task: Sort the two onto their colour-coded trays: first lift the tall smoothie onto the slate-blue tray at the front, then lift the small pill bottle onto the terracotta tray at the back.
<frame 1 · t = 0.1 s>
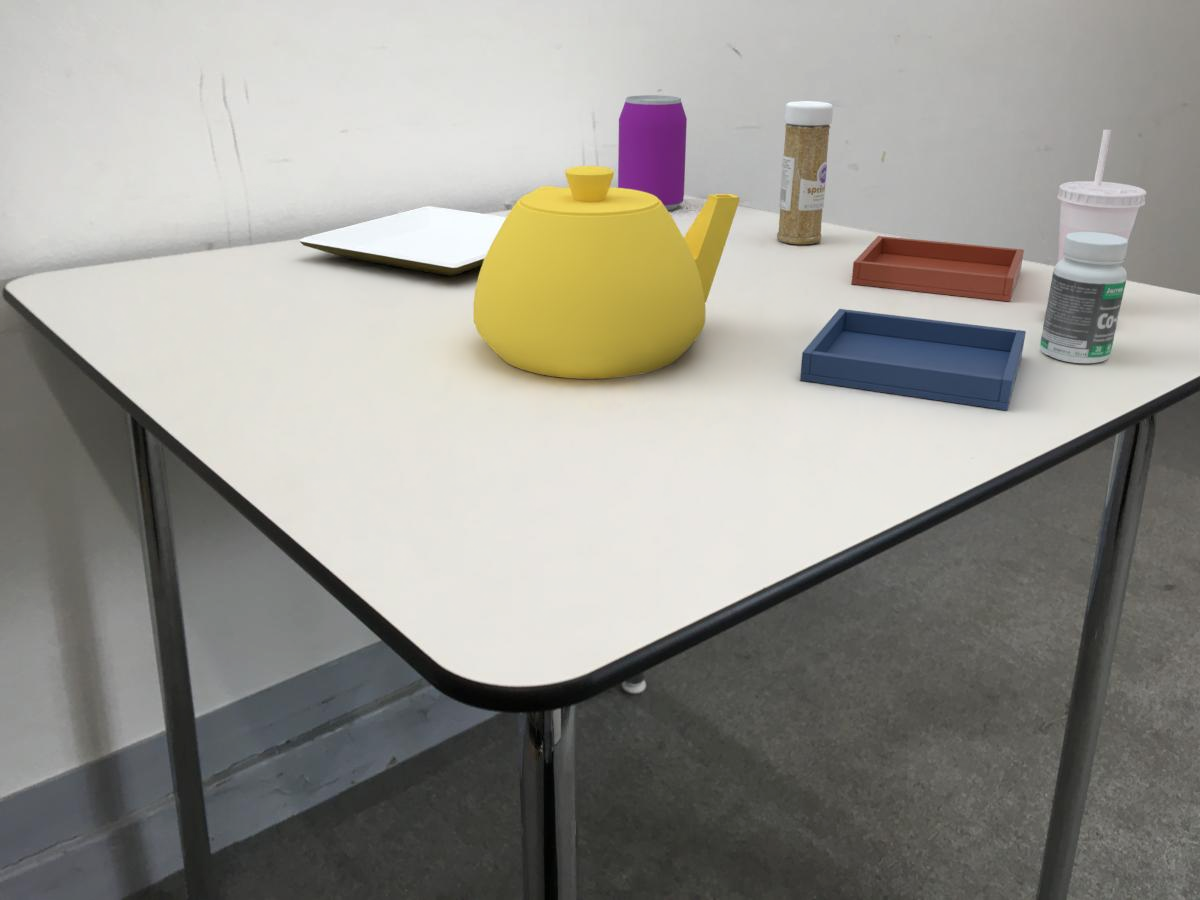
terracotta tray: (937, 277, 98), on the table
beverage can: (650, 207, 127), on the table
sprinkles bottle: (798, 242, 111), on the table
pill bottle: (1073, 356, 78), on the table
smoothie: (1079, 310, 89), on the table
plate: (440, 255, 105), on the table
teapot: (604, 341, 81), on the table
blue tray: (913, 368, 75), on the table
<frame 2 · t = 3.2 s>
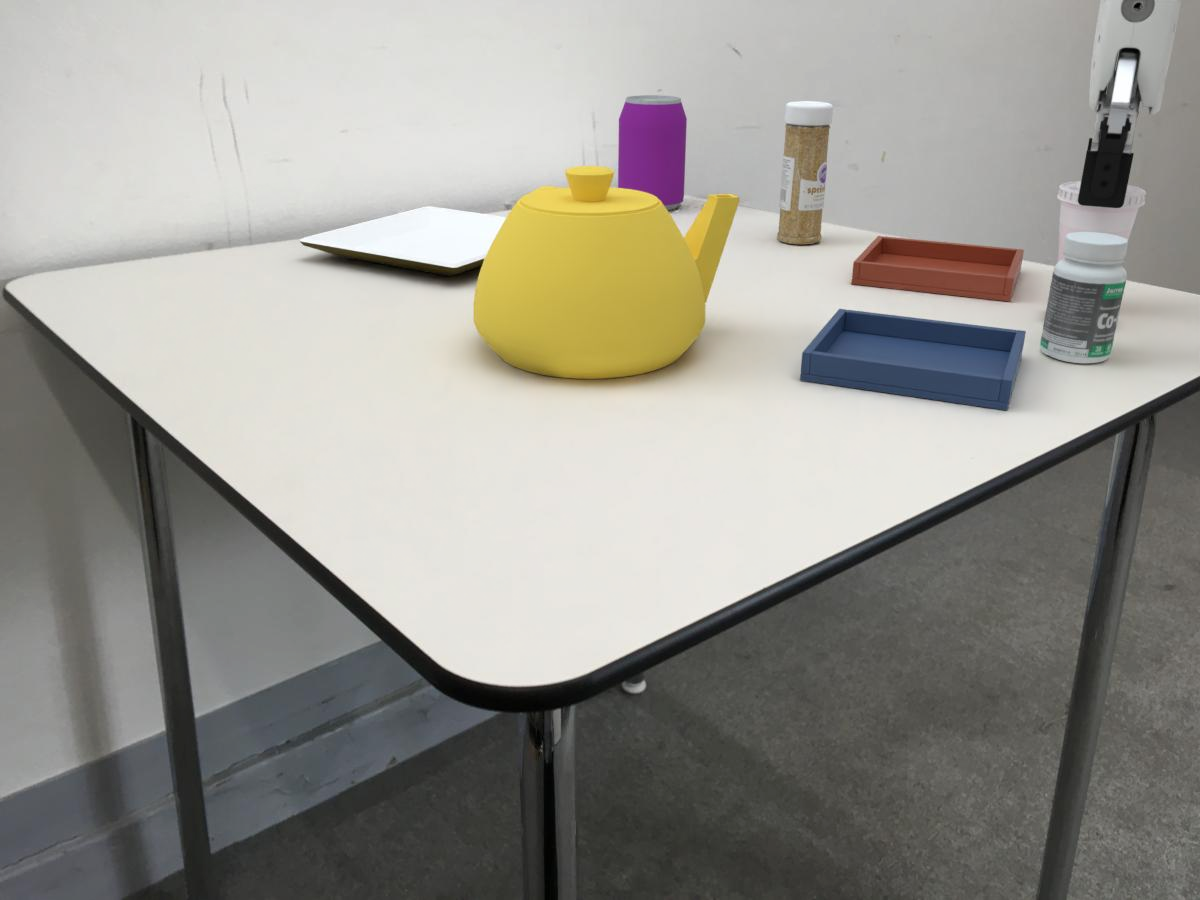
hand: (1101, 195, 86), 9 cm above the table, tool pointing down, fingers closed on smoothie, 6 cm apart
smoothie: (1079, 310, 89), on the table, touching gripper
everything else where it was.
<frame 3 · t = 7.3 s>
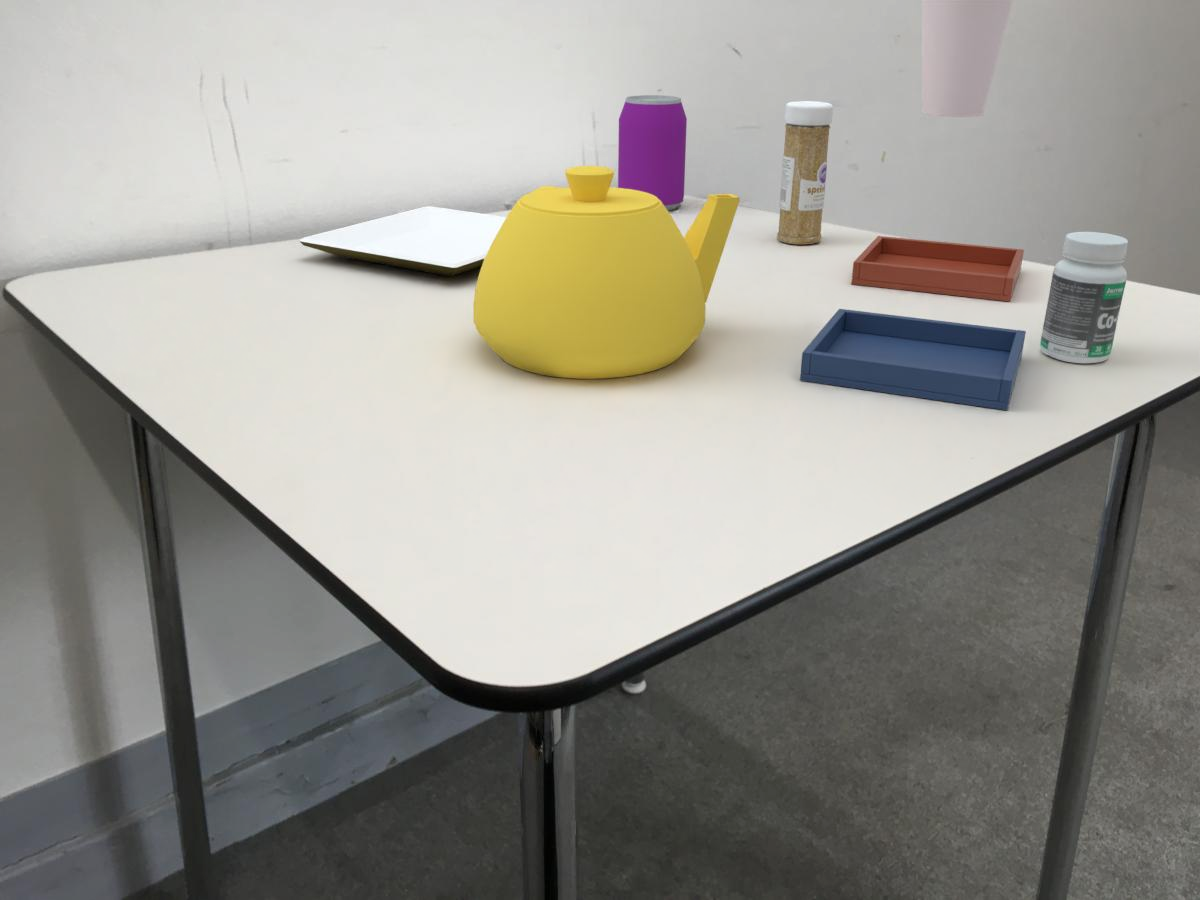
smoothie: (951, 116, 69), point 17 cm above the table, touching gripper
everything else where it was.
when the fingers open (10 cm above the table, at t = 11.4 s): smoothie stays where it is, resting on blue tray.
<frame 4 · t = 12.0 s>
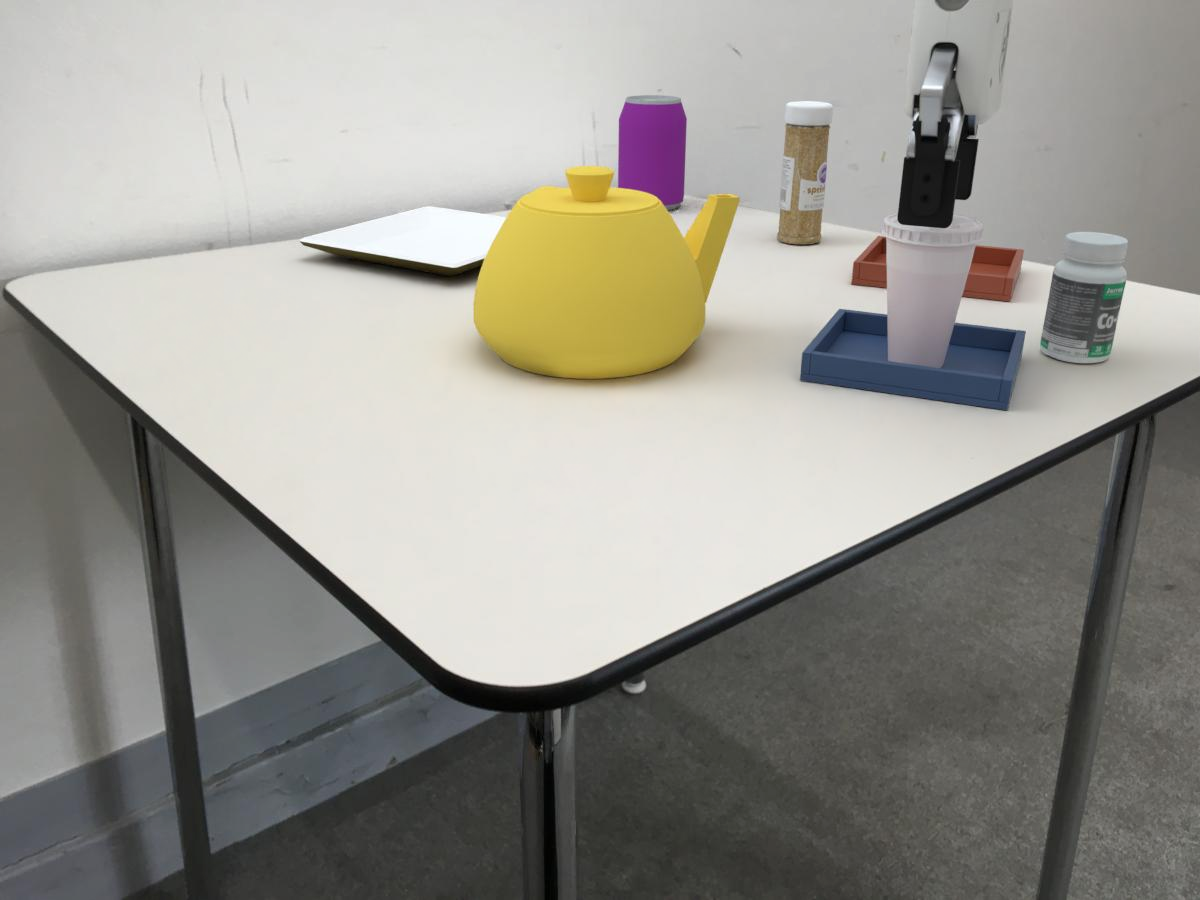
hand: (935, 210, 71), 11 cm above the table, tool pointing down, fingers open, 9 cm apart
smoothie: (915, 364, 75), resting on blue tray
everything else where it was.
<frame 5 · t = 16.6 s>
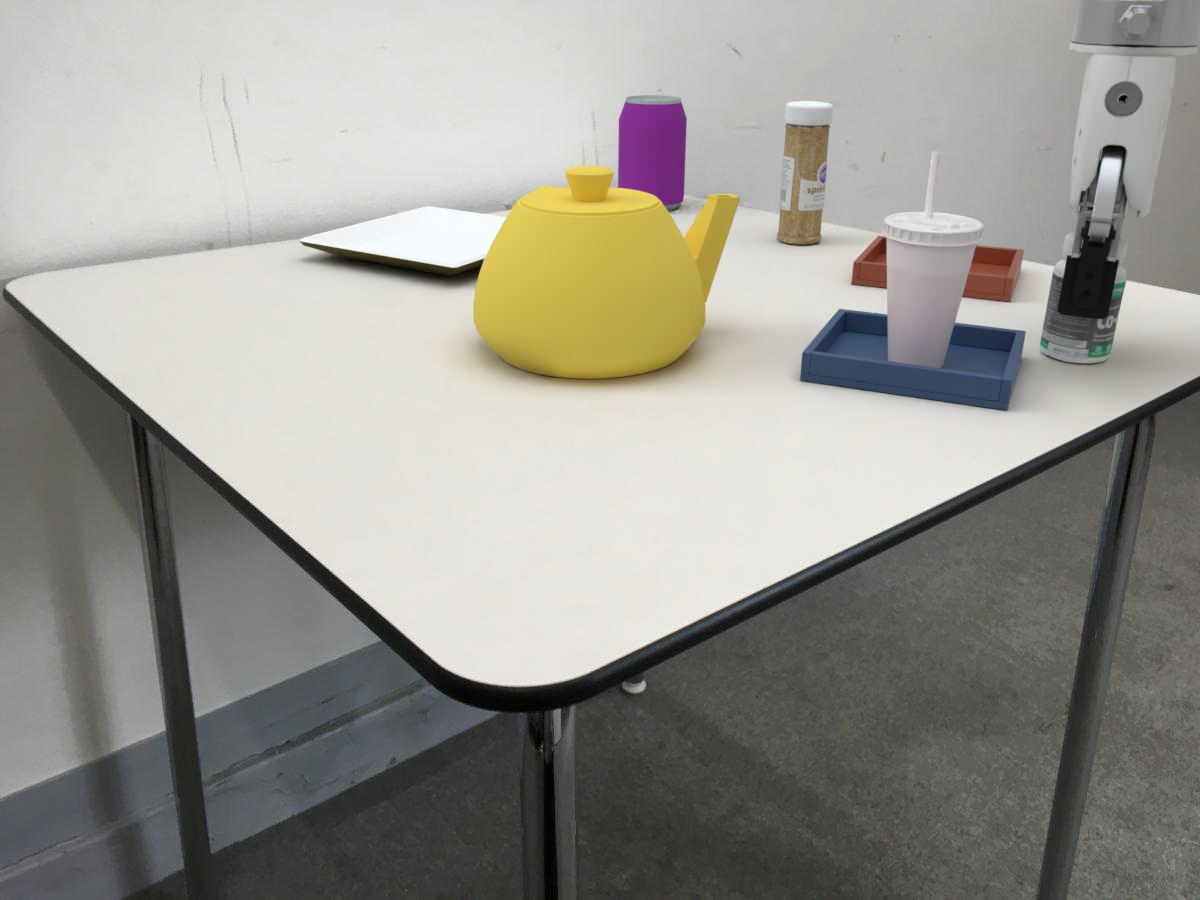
hand: (1083, 302, 77), 4 cm above the table, tool pointing down, fingers closed on pill bottle, 4 cm apart
pill bottle: (1073, 356, 78), on the table, touching gripper
everything else where it was.
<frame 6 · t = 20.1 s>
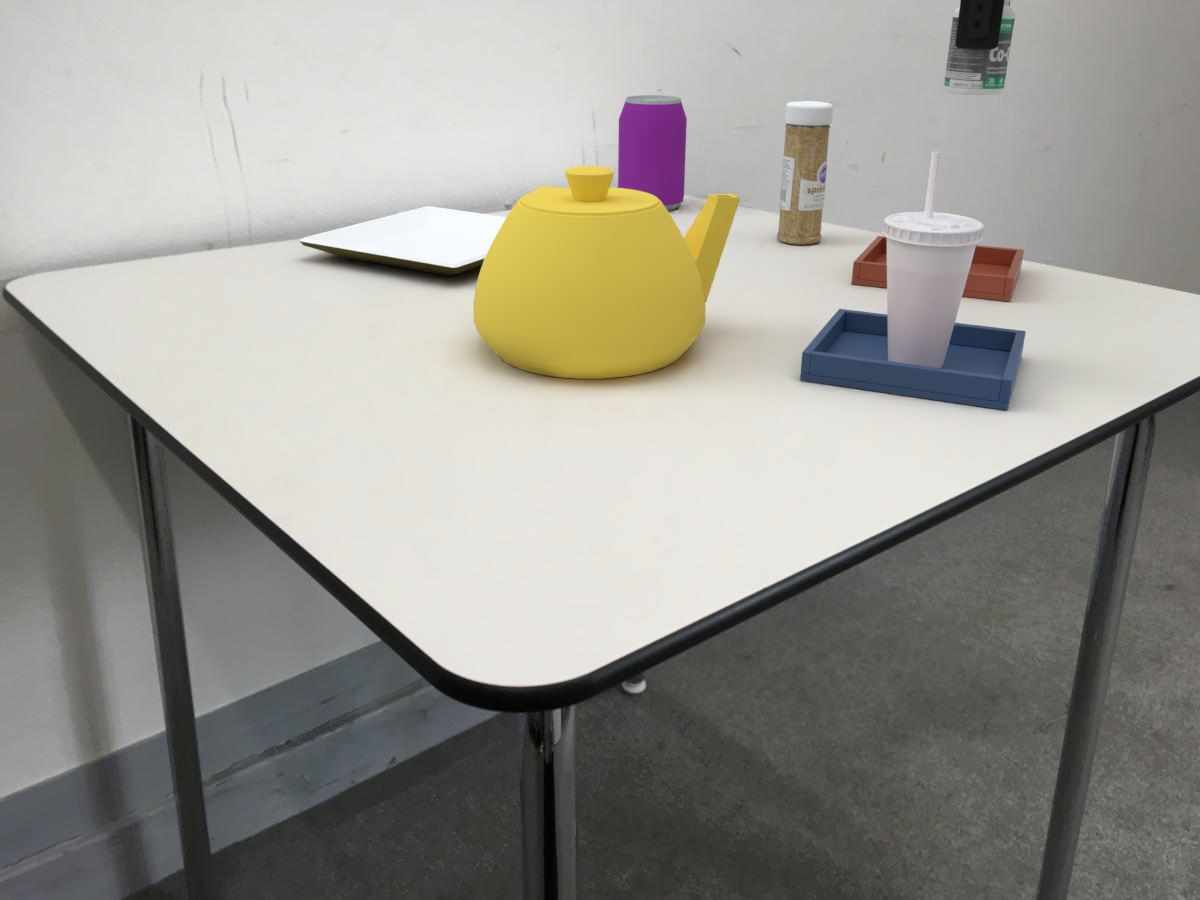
hand: (980, 44, 88), 20 cm above the table, tool pointing down, fingers closed on pill bottle, 4 cm apart
pill bottle: (972, 95, 90), point 16 cm above the table, touching gripper
everything else where it was.
when the fingers open (4 cm above the table, at t = 23.9 s): pill bottle stays where it is, resting on terracotta tray.
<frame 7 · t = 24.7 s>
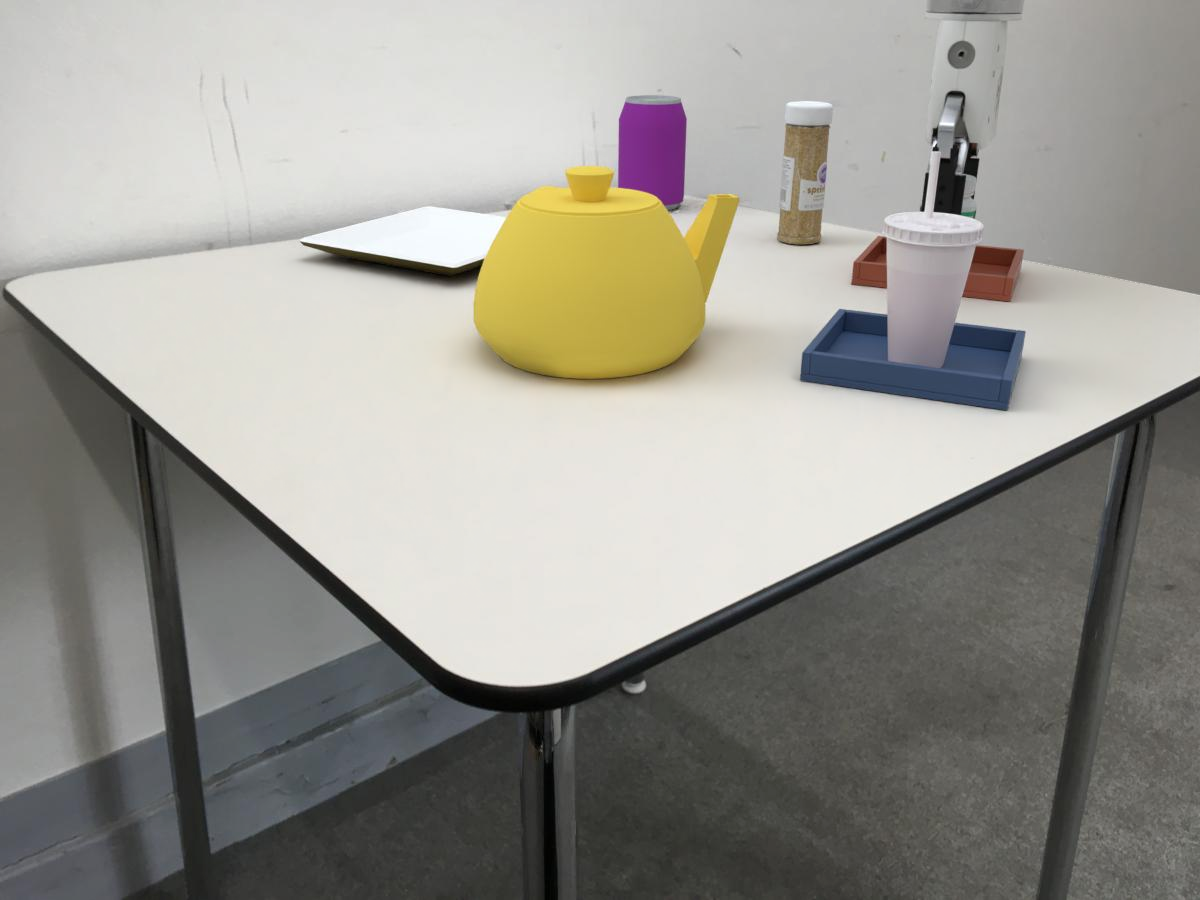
hand: (947, 212, 95), 6 cm above the table, tool pointing down, fingers open, 9 cm apart
pill bottle: (938, 274, 98), resting on terracotta tray
everything else where it was.
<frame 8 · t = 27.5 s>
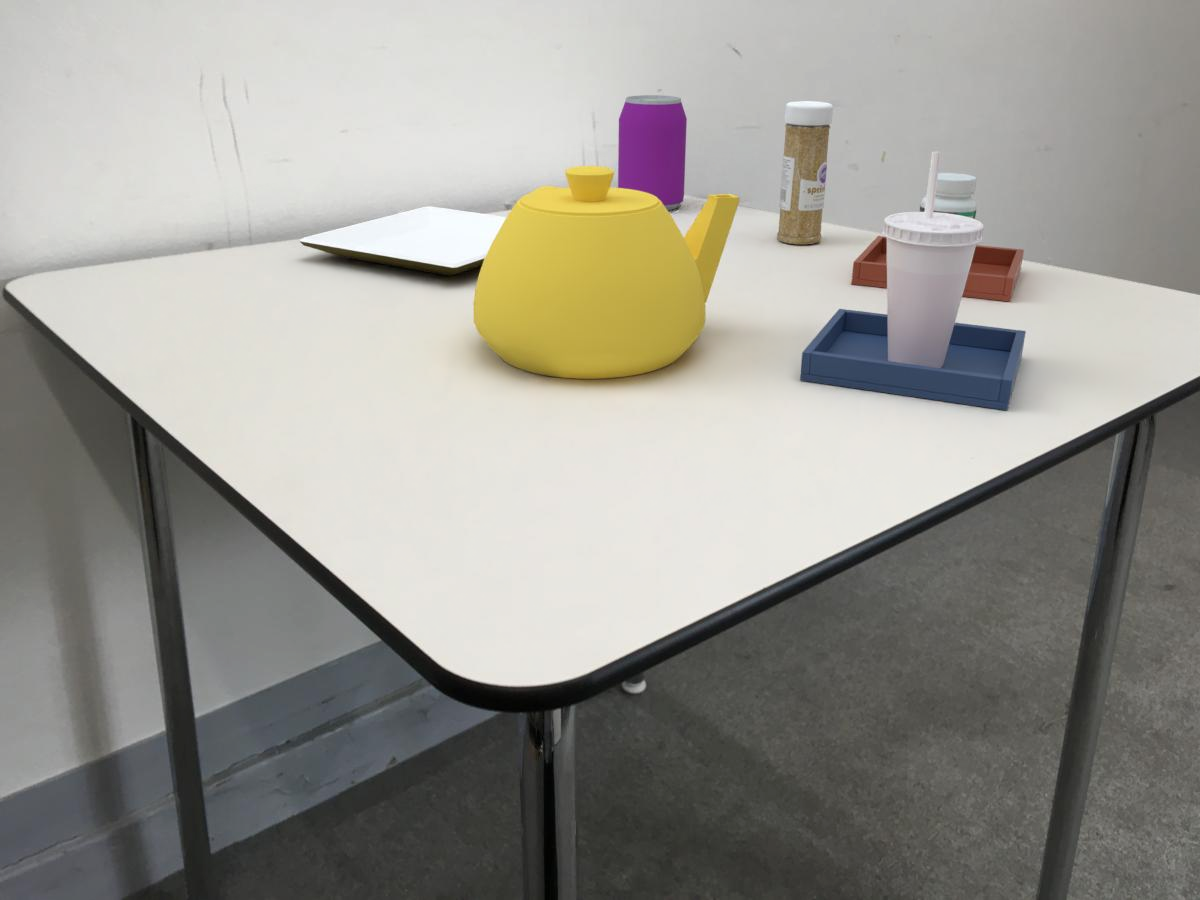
nothing on the table moved.
at the end: smoothie inside the target area in the blue tray (0.0 cm from its centre), point 0.3 cm above the blue tray's base; pill bottle inside the target area in the terracotta tray (0.1 cm from its centre), point 0.3 cm above the terracotta tray's base; smoothie tilted 0° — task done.
